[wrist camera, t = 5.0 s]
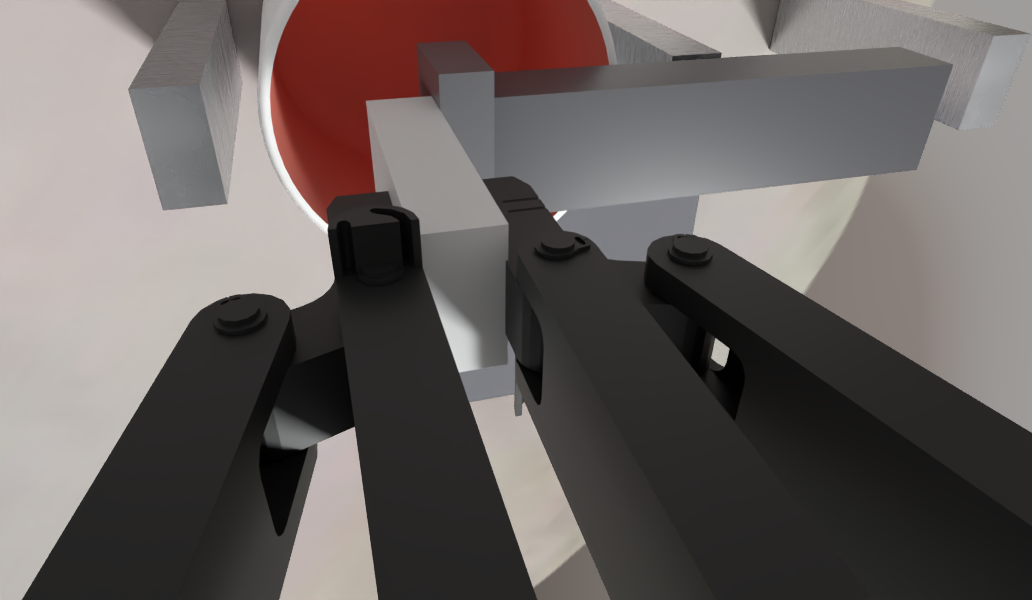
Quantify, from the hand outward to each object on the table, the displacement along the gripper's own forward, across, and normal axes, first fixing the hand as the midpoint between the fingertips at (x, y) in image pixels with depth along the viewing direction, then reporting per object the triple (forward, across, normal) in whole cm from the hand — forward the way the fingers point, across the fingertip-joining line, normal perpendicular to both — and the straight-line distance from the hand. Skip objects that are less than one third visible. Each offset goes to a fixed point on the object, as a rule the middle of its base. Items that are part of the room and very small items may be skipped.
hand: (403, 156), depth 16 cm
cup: (+13, +2, 0) cm, 13 cm away
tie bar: (+2, +8, 0) cm, 8 cm away
